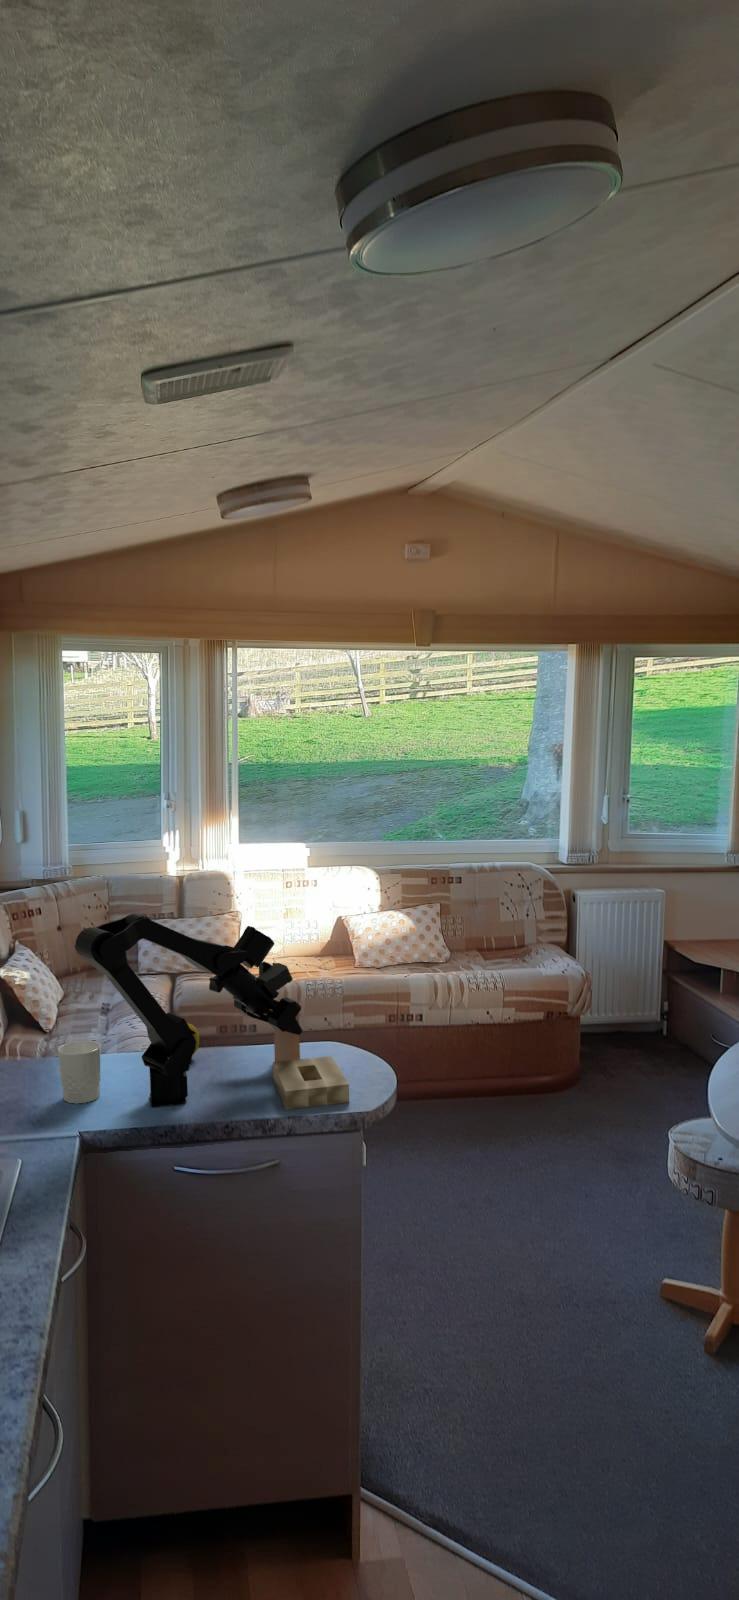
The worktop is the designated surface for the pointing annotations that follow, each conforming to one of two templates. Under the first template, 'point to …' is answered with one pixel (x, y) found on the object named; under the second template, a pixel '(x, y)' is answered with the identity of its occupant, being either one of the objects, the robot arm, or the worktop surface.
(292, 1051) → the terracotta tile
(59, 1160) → the worktop surface
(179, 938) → the robot arm
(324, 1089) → the pine slot box
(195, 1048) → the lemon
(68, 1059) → the white cup
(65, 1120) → the worktop surface
